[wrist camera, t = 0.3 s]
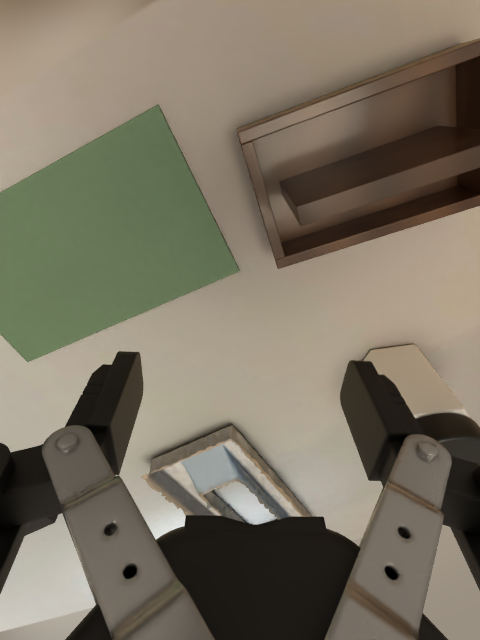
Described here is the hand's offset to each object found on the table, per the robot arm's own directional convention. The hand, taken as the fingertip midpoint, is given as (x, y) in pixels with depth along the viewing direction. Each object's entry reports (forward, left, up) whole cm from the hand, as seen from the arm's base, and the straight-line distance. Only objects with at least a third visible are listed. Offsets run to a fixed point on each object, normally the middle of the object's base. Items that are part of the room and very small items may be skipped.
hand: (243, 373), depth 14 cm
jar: (+5, +23, -19) cm, 30 cm away
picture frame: (+31, +19, -19) cm, 41 cm away
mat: (+9, -10, -19) cm, 23 cm away
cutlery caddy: (-9, +5, -19) cm, 22 cm away
